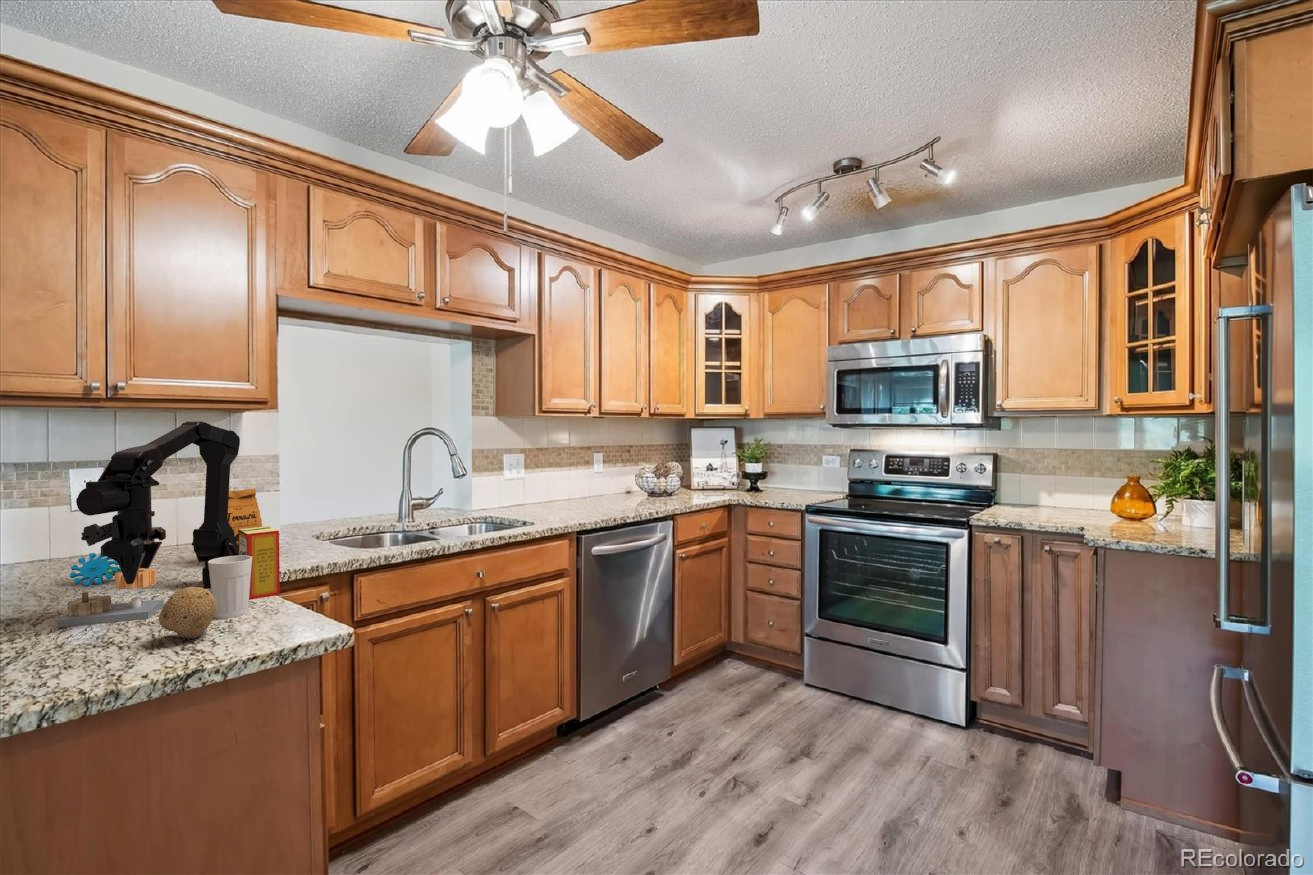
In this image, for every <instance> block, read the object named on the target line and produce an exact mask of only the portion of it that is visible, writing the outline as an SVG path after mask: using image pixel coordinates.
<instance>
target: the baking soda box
mask: <svg viewBox="0 0 1313 875" xmlns="http://www.w3.org/2000/svg"><path fill="white" fill-rule="evenodd" d="M238 549H239V556H251V557H252V566H251V577H250V591H249V601H251V600H258V599H264V598H269V597H274V596H275V597H276V596H280V595H281V592H280V591H281V587H280V586H281V585H280V584H281V581H280V580H281V578H280V575H281V574H280V531H279V530H278V529H276V528H274V527H272V526H270V525H266V526H263V525H262V527H253V528H244V529H238Z"/></svg>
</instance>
